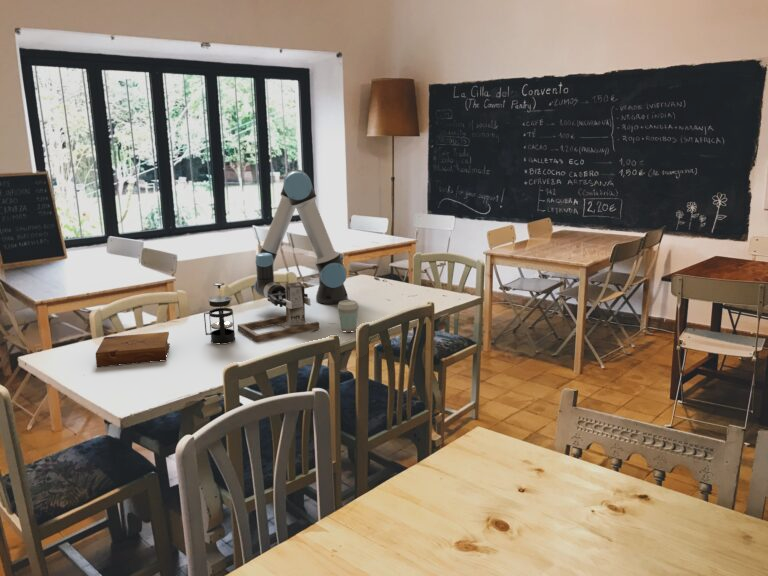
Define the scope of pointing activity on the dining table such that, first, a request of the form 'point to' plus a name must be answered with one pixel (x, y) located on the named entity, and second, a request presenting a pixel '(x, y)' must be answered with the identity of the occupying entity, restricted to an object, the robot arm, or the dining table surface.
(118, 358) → the brown wooden flat block
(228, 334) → the french press
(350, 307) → the coffee cup
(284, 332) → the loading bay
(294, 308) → the coffee box
